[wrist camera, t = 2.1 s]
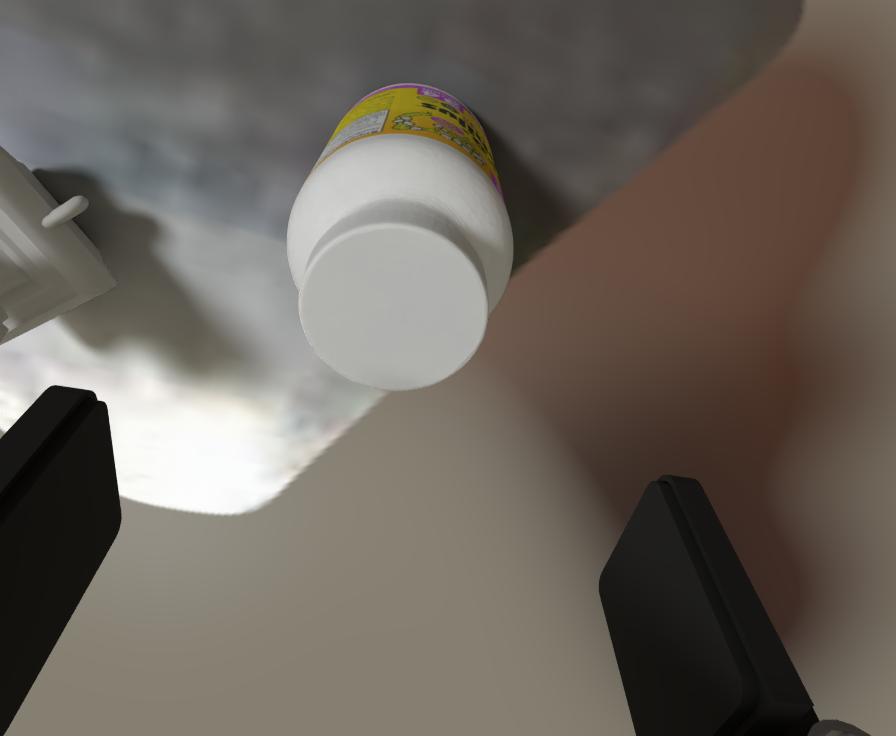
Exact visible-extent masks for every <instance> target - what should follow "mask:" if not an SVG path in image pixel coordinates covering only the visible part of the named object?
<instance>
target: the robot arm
mask: <svg viewBox="0 0 896 736" xmlns="http://www.w3.org/2000/svg"><path fill="white" fill-rule="evenodd" d="M120 524H121V507H120V500H119V492H118V484H117V477H116V469H115V462H114V454H113V446H112V439H111V431H110V424H109V416H108V409H107V405H106V403H105V402H103V401H97V397H96V394H95V393H94V392H93V391H91V390H84V389H78V388H71V387H64V386H57V385H54V386H50V387H49V388H48V389H46V390H45V391H44V392H43V393H42V395H41V396H40V397H39V398H38V399H37V400H36V401H35V402H34V403H33V404H32V405H31V406H30V407H29V409H28V410H27V411H26V412H25V413H24V414H23V415H22V416H21V417H20V418H19V419H18V420H17V421H16V422H15V424H14V425H13V426H12V427H11V428H10V429H9V430H8V431H7V432H6V433H5V434H4V435H3V436H2V438H1V439H0V736H3V735H4V734H5V732H6V731H7V729H8V728H9V726H10V724H11V722H12V720H13V719H14V716H15V715H16V713H17V711H18V710H19V708H20V706H21V704H22V703H23V701H24V699H25V697H26V696H27V694H28V692H29V690H30V689H31V687H32V685H33V683H34V682H35V680H36V678H37V676H38V674H39V673H40V671H41V669H42V667H43V666H44V664H45V662H46V660H47V659H48V657H49V655H50V653H51V651H52V650H53V648H54V646H55V644H56V643H57V641H58V639H59V637H60V636H61V634H62V632H63V630H64V628H65V627H66V625H67V623H68V621H69V620H70V618H71V616H72V614H73V613H74V611H75V609H76V607H77V605H78V604H79V602H80V600H81V598H82V597H83V594H84V593H85V591H86V589H87V588H88V586H89V584H90V582H91V581H92V579H93V577H94V575H95V574H96V571H97V570H98V568H99V567H100V565H101V563H102V561H103V559H104V558H105V556H106V554H107V552H108V551H109V549H110V547H111V545H112V543H113V542H114V540H115V538H116V536H117V534H118V531H119V529H120ZM599 594H600V598H601V602H602V606H603V610H604V613H605V617H606V621H607V625H608V629H609V632H610V637H611V640H612V644H613V648H614V652H615V656H616V660H617V664H618V667H619V671H620V675H621V679H622V683H623V686H624V690H625V694H626V698H627V702H628V706H629V710H630V713H631V717H632V721H633V725H634V729H635V733H636V736H870V735H869V734H868V733H866V732H864V731H862V730H861V729H859V728H857V727H856V726H854V725H852V724H849V723H845V722H842V721H839V720H822V721H819V719H818V717H817V715H816V713H815V711H814V709H813V706H814V704H813V703H812V701H811V699H810V697H809V695H808V693H807V691H806V689H805V687H804V685H803V683H802V681H801V679H800V677H799V675H798V673H797V671H796V669H795V668H794V666H793V663H792V662H791V660H790V658H789V656H788V654H787V652H786V650H785V648H784V646H783V644H782V642H781V640H780V638H779V637H778V634H777V632H776V630H775V628H774V626H773V625H772V623H771V621H770V619H769V617H768V615H767V613H766V611H765V609H764V607H763V605H762V603H761V601H760V599H759V597H758V595H757V593H756V591H755V590H754V587H753V585H752V584H751V582H750V580H749V578H748V576H747V574H746V572H745V570H744V568H743V566H742V564H741V562H740V560H739V558H738V556H737V554H736V552H735V550H734V548H733V546H732V544H731V543H730V541H729V539H728V537H727V535H726V533H725V531H724V529H723V527H722V525H721V523H720V521H719V519H718V517H717V515H716V513H715V511H714V509H713V508H712V505H711V503H710V502H709V500H708V498H707V496H706V494H705V492H704V490H703V488H702V486H701V484H700V483H699V482H698V481H697V480H695V479H692V478H685V477H679V476H672V475H662V476H661V477H660V478H659V479H658V480H657V481H652V482H650V483H649V485H648V486H647V488H646V490H645V492H644V494H643V495H642V497H641V499H640V501H639V503H638V505H637V507H636V509H635V511H634V513H633V514H632V516H631V518H630V520H629V522H628V524H627V526H626V528H625V529H624V531H623V533H622V535H621V537H620V539H619V541H618V543H617V545H616V547H615V548H614V550H613V552H612V554H611V556H610V558H609V560H608V562H607V564H606V565H605V568H604V569H603V571H602V573H601V576H600V580H599Z"/></svg>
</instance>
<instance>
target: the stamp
mask: <svg viewBox="0 0 896 736" xmlns="http://www.w3.org/2000/svg"><path fill="white" fill-rule="evenodd" d="M88 205H89V201H88V199H87V198H85V197H84V196H75V197H73V198H71V199H70V200H68V201H67V202H65V203H64V204H62V205H59V204H58V203H57V202H56V200H55V199H54V198H53V197H52V196H51V195H50V193H49V192H48V191H47V190H46V189H45V188H44V187H43V185H42V184H41V183H40V182H39V181H38V180H37V178H36V177H35V176H34V175H33V174H32V173H31V172H30V170H29V169H28V168H27V167H26V166H25V165H24V164H23V163H20V162H18V161H17V160H16V159H15V158H14V157H12V156H11V155H10V154H9V153H8V152H7V151H6V150H5V149H3V148H2V147H1V146H0V345H1V344H3V343H5V342H7V341H9V340H11V339H13V338H15V337H17V336H19V335H21V334H23V333H25V332H27V331H29V330H31V329H33V328H35V327H37V326H39V325H41V324H43V323H45V322H47V321H49V320H51V319H53V318H55V317H57V316H59V315H61V314H63V313H65V312H67V311H69V310H71V309H73V308H75V307H77V306H79V305H81V304H83V303H85V302H87V301H89V300H91V299H93V298H95V297H97V296H99V295H101V294H103V293H105V292H107V291H109V290H111V289H112V288H114V287H115V286H117V285H118V283H117V282H116V281H115V279H114V276H113V274H112V272H111V271H110V269H109V268H108V266H107V265H106V263H105V262H104V260H103V259H102V255H101V252H100V251H99V250H98V249H97V248H96V247H95V245H94V244H93V243H92V242H91V241H90V240H89V239H88V237H87V236H86V235H85V234H84V233H83V232H82V230H81V229H80V228H79V227H78V226H77V225H76V223H75V222H74V221H73V220H72V219H71V218H73V217H75V216H77V215H78V214H80V213H82V212H83V211H84V210H86V208H87V207H88Z"/></svg>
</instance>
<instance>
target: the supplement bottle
mask: <svg viewBox="0 0 896 736" xmlns="http://www.w3.org/2000/svg"><path fill="white" fill-rule="evenodd" d="M287 255H288V261H289V266H290V270H291V274H292V277H293V280H294V282H295V285H296V287H297V289H298V291H299V315H300V320H301V324H302V327H303V330H304V333H305V335H306V337H307V339H308V341H309V343H310V344H311V346H312V347H313V349H314V350H315V352H316V353H317V354H318V356H319V357H320V358H321V359H322V360H323V361H324V362H325V363H326V364H327V365H329V366H330V367H331V368H332V369H334V370H335V371H336V372H338V373H339V374H341V375H342V376H344V377H346V378H347V379H349V380H352V381H354V382H356V383H359V384H361V385H364V386H368V387H371V388H376V389H381V390H392V391H405V390H414V389H419V388H423V387H427V386H430V385H432V384H435V383H438V382H440V381H442V380H444V379H446V378H448V377H449V376H451V375H452V374H454V373H455V372H457V371H458V370H459V369H460V368H462V367H463V366H464V365H465V364H466V363H467V361H468V360H469V359H470V358H471V357H472V356H473V355H474V353H475V352H476V350H477V349H478V347H479V345H480V344H481V342H482V340H483V337H484V335H485V332H486V328H487V324H488V320H489V315H490V314H491V313H492V312H493V310H494V309H495V308H496V306H497V304H498V303H499V301H500V299H501V297H502V296H503V294H504V291H505V289H506V287H507V284H508V281H509V278H510V273H511V269H512V263H513V235H512V229H511V224H510V220H509V216H508V212H507V209H506V206H505V202H504V198H503V194H502V190H501V186H500V182H499V178H498V174H497V171H496V167H495V163H494V160H493V156H492V152H491V149H490V146H489V143H488V140H487V137H486V135H485V133H484V131H483V128H482V126H481V125H480V123H479V122H478V120H477V119H476V117H475V116H474V115H473V114H472V112H471V111H470V110H469V109H468V108H467V107H466V106H465V105H464V104H463V103H461V102H460V101H459V100H458V99H456V98H455V97H453V96H452V95H450V94H448V93H446V92H444V91H442V90H440V89H437V88H435V87H431V86H427V85H422V84H413V83H404V84H395V85H391V86H387V87H384V88H381V89H379V90H376V91H374V92H372V93H371V94H369V95H367V96H366V97H364V98H363V99H362V100H360V101H359V102H358V103H357V104H356V105H354V106H353V107H352V108H351V109H350V110H349V112H348V113H347V114H346V115H345V116H344V118H343V119H342V121H341V122H340V124H339V125H338V127H337V129H336V130H335V132H334V134H333V136H332V137H331V139H330V141H329V142H328V144H327V146H326V147H325V149H324V151H323V153H322V154H321V156H320V158H319V160H318V161H317V163H316V165H315V166H314V168H313V170H312V171H311V173H310V174H309V176H308V178H307V179H306V181H305V183H304V185H303V186H302V188H301V190H300V192H299V194H298V196H297V198H296V200H295V203H294V206H293V208H292V211H291V215H290V219H289V224H288V231H287Z"/></svg>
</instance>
